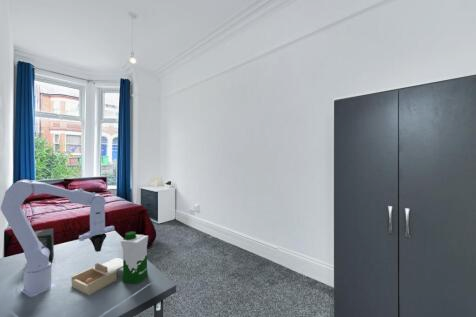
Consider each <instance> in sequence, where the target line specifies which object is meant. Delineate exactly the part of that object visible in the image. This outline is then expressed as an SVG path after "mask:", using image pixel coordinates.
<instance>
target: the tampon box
mask: <svg viewBox="0 0 476 317" xmlns="http://www.w3.org/2000/svg"><path fill="white" fill-rule="evenodd" d="M34 232H35V234H36V236H37V238H38V240H39V241H40V242H41V243H42V244H43V246H44V247H46V248H48V249H49V250H50V255H49V262H51V264H53V261H54V256H55V252H54V251H55V250H54V248H55V247H54V244H55V242H54V240H55V239H54V228H46V229H40V230H34Z"/></svg>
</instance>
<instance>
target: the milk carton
mask: <svg viewBox="0 0 476 317" xmlns="http://www.w3.org/2000/svg"><path fill="white" fill-rule="evenodd" d="M148 241H149V235H144V234H137V232H136V231H127V232H125V238H123V239H122V240H120V244H121V248H122V259H123V268H122V283H128V284H135V285H138V284H139V283H140V282H142V281H143V280H144V279H146V277H147V276H148V275H149V274H148V273H149V272H148Z"/></svg>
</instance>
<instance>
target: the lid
mask: <svg viewBox="0 0 476 317" xmlns="http://www.w3.org/2000/svg"><path fill="white" fill-rule="evenodd" d="M94 266H95V268H93V270H95V271H97V272H99V273H102V274H104V275H107V274H109V273H111V272H113V271H115V270H116V271H117V272H118V271H119V270H121V269H123V258H119V257H114V258H113V259H111V260H107V261H106V262H104V263H101V264H100V263H95V264H94Z"/></svg>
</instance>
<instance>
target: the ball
mask: <svg viewBox="0 0 476 317" xmlns="http://www.w3.org/2000/svg"><path fill="white" fill-rule="evenodd" d="M93 281H94V279H93V278H88V279H87V280H86V281H85V284H89V283H91V282H93Z"/></svg>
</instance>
